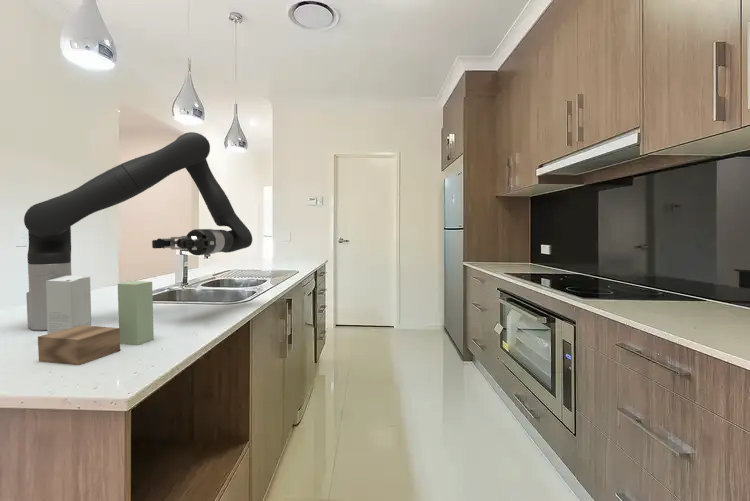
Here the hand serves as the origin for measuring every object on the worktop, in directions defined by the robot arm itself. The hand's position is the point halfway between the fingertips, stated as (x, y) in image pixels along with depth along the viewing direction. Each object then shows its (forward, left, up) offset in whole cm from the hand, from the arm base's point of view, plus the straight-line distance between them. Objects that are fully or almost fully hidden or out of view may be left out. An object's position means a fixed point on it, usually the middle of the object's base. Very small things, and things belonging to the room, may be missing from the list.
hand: (167, 244), depth 111 cm
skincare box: (-18, -12, -23) cm, 31 cm away
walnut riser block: (-3, -23, -22) cm, 32 cm away
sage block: (0, -11, -22) cm, 25 cm away
